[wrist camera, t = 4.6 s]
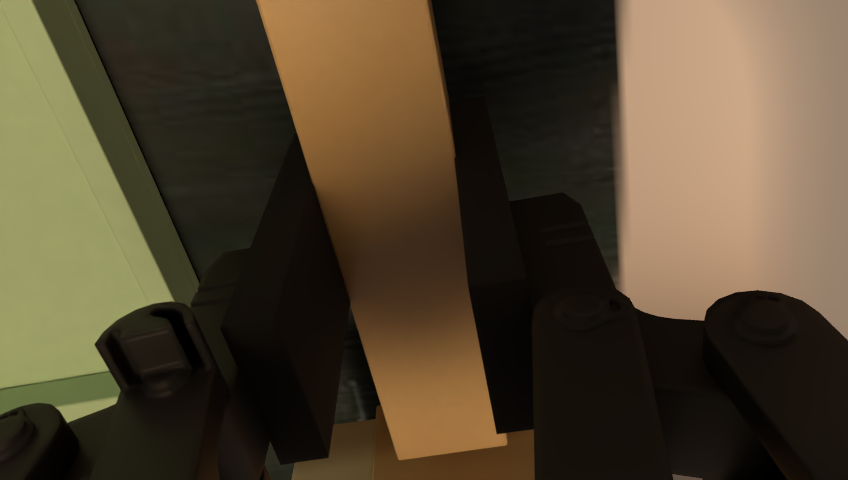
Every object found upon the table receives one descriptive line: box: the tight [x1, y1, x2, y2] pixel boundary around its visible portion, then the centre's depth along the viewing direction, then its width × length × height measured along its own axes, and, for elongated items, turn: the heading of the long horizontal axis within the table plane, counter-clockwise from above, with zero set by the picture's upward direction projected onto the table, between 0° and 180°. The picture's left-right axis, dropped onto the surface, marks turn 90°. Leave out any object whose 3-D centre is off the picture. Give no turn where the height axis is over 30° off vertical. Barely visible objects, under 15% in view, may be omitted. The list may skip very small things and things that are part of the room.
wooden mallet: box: [256, 0, 535, 480], centre depth 16 cm, size 19×7×4 cm, turn 11°
